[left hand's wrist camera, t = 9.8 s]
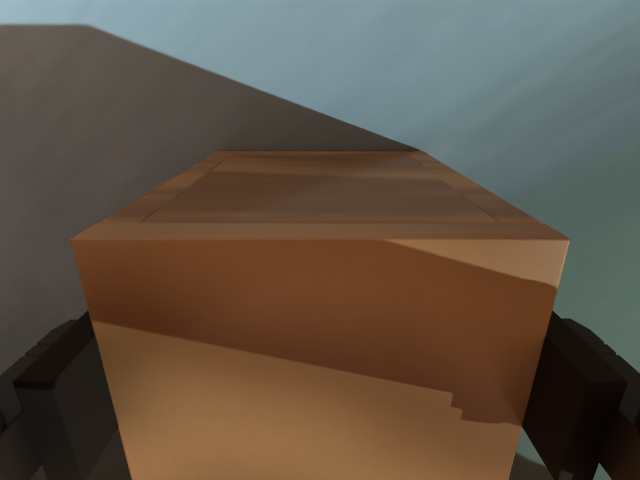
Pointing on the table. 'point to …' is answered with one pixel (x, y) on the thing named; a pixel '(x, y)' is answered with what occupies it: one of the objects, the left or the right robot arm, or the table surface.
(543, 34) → the table surface
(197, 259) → the cabinet
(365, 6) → the table surface
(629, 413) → the left robot arm
